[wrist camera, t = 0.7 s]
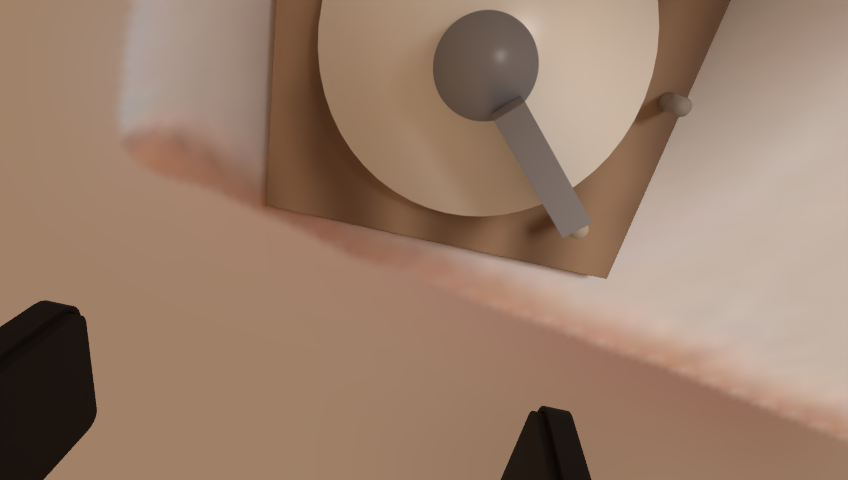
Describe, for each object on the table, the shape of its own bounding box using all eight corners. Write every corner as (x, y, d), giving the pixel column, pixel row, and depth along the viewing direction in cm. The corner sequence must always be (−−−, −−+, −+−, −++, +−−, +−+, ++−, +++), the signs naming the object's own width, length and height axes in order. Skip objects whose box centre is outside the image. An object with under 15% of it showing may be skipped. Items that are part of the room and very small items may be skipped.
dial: (260, 10, 26) (202, 8, 20) (553, -240, 21) (589, -340, 15) (434, 253, 32) (428, 306, 26) (698, 108, 26) (765, 134, 21)
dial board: (779, -146, 23) (875, -195, 17) (600, 268, 33) (626, 315, 28) (300, -259, 22) (250, -344, 17) (273, 197, 33) (237, 232, 28)
